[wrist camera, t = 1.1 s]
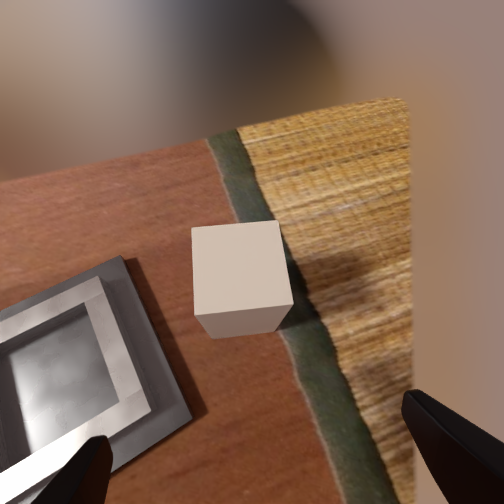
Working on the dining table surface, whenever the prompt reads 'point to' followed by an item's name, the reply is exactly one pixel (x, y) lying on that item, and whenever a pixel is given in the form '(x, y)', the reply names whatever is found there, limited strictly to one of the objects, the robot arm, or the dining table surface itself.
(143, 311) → the locating plate
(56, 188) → the dining table surface
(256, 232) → the square block
